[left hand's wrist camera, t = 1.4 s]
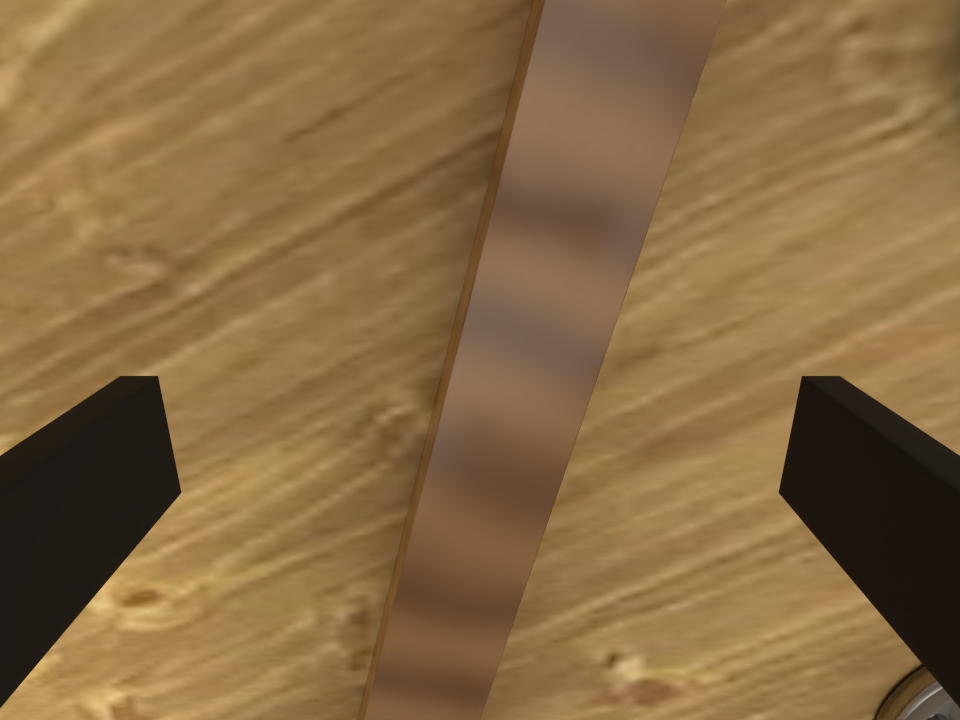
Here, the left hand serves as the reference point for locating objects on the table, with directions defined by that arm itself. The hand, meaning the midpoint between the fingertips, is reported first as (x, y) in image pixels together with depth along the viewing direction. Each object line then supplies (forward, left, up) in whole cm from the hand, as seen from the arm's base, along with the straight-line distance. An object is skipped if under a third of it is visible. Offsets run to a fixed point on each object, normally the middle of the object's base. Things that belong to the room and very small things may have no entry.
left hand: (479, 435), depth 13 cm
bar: (+12, -16, -21) cm, 29 cm away
